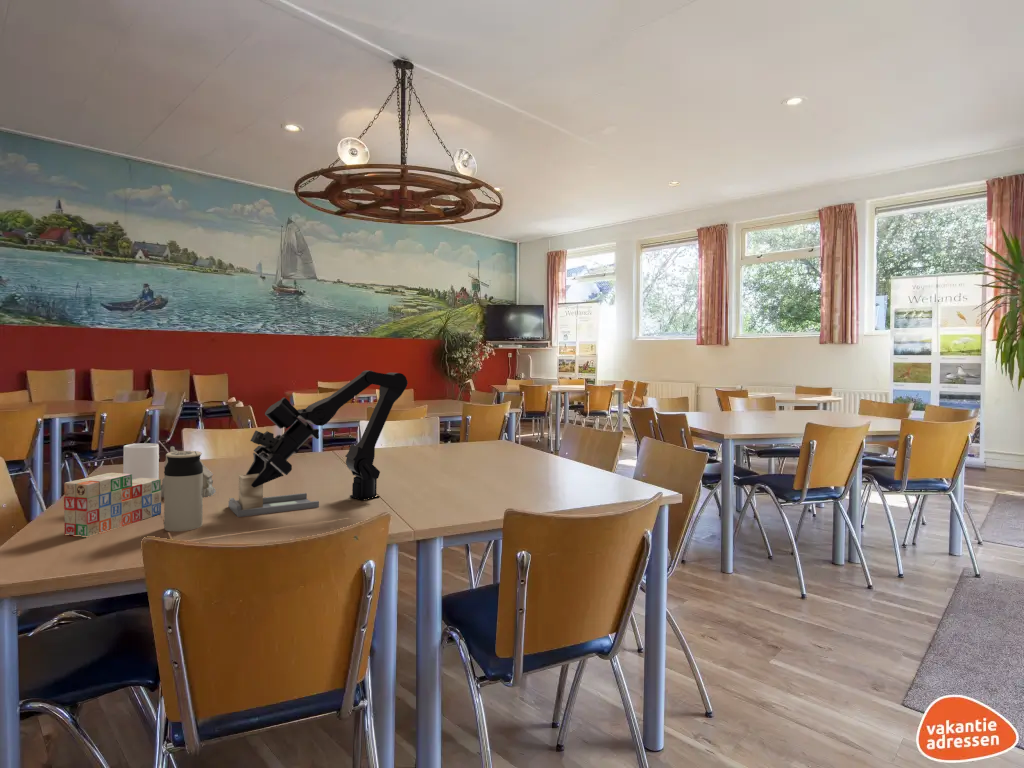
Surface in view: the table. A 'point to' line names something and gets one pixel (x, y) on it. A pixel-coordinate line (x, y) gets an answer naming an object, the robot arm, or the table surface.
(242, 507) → the maple block
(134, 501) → the stack of blocks
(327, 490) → the table surface
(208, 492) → the ceramic cottage
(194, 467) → the travel mug
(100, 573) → the table surface
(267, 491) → the table surface
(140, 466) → the cup
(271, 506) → the tray
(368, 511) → the table surface
